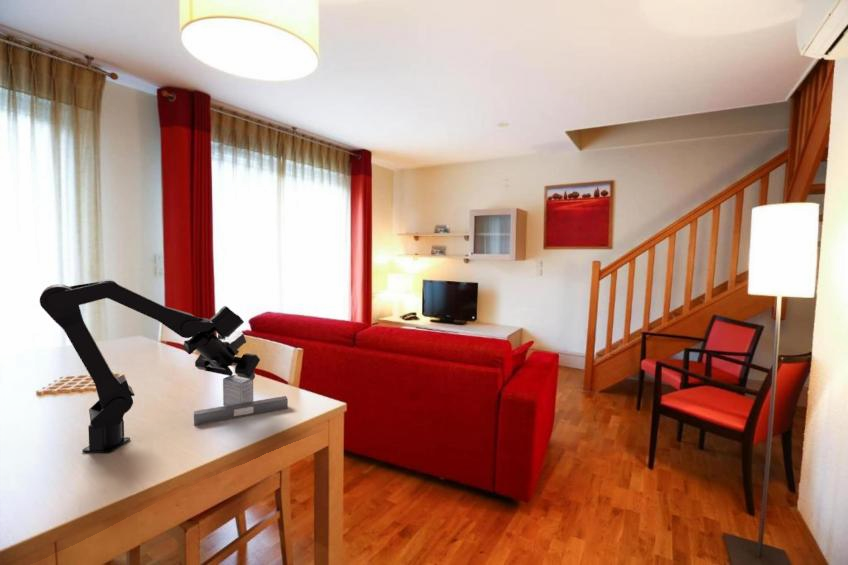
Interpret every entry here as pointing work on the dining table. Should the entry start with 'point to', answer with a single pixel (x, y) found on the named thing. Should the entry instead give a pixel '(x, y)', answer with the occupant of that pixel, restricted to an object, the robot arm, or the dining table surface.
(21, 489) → the dining table surface
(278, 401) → the rail
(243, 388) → the medicine box
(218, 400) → the dining table surface
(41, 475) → the dining table surface
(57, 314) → the robot arm
